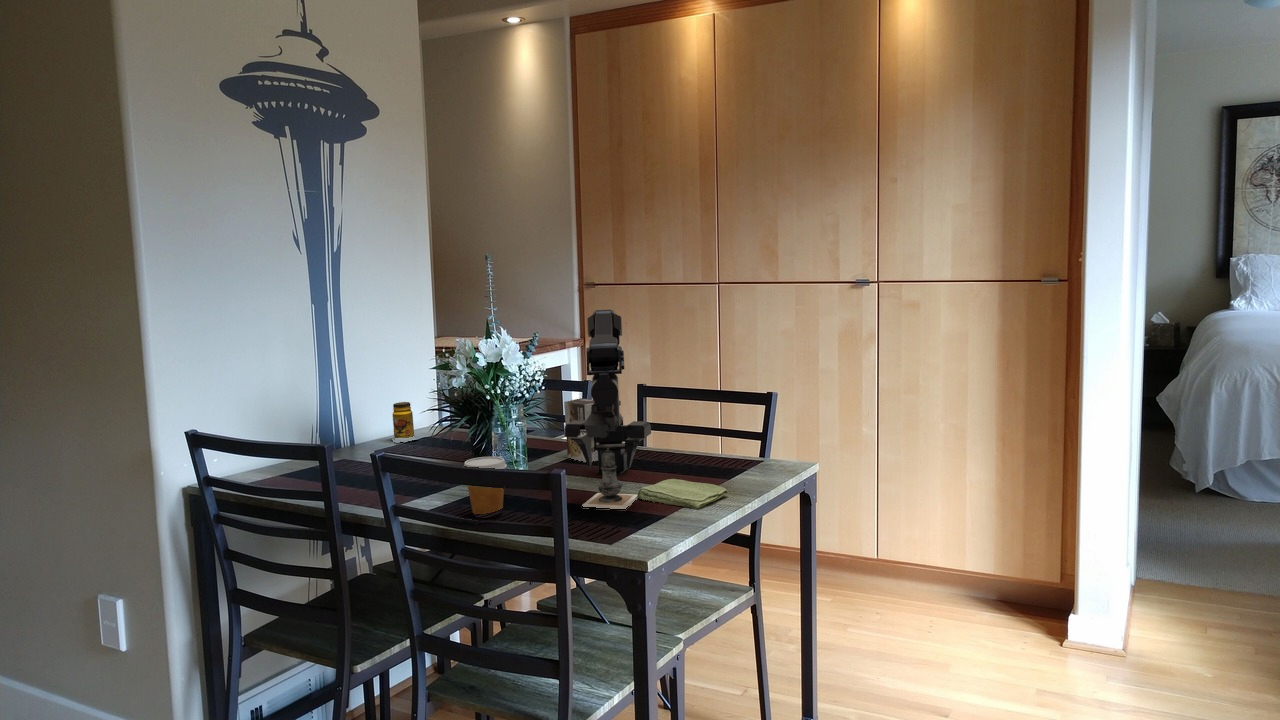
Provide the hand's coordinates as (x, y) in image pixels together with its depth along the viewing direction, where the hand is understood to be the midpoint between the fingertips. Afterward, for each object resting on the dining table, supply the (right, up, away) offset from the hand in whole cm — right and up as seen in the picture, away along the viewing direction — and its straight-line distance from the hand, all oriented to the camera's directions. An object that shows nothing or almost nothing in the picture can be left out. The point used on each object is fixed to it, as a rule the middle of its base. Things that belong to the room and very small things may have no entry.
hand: (609, 467), depth 202 cm
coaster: (0, -8, +1) cm, 8 cm away
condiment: (-67, -1, +81) cm, 105 cm away
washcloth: (+17, -8, +3) cm, 19 cm away
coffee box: (-8, -3, +45) cm, 46 cm away
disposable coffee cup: (-26, -10, -4) cm, 29 cm away
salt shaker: (0, -8, +1) cm, 8 cm away
